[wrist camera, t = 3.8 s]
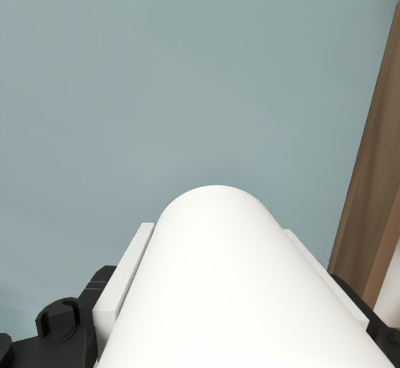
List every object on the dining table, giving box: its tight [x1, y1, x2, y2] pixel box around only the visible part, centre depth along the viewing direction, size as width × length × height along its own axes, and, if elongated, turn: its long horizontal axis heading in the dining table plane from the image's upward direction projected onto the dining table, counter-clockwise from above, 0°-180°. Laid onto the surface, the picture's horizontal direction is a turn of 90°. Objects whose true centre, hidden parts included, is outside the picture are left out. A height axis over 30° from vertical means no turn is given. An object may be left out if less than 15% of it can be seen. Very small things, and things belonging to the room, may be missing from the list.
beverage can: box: [97, 185, 395, 368], centre depth 9 cm, size 8×8×12 cm
